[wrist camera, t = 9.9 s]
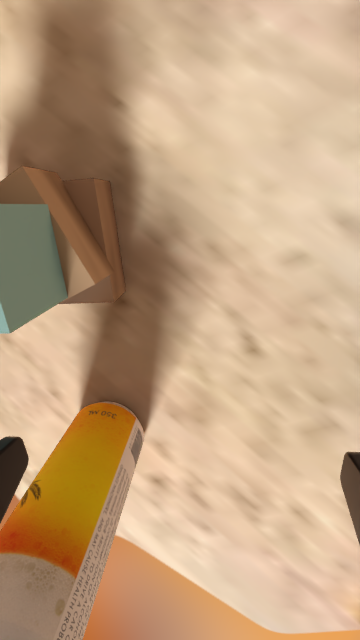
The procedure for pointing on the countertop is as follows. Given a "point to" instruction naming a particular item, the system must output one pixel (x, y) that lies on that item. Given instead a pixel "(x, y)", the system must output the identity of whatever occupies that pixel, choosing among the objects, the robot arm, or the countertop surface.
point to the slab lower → (99, 236)
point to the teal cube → (27, 265)
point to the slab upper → (60, 226)
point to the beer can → (67, 527)
